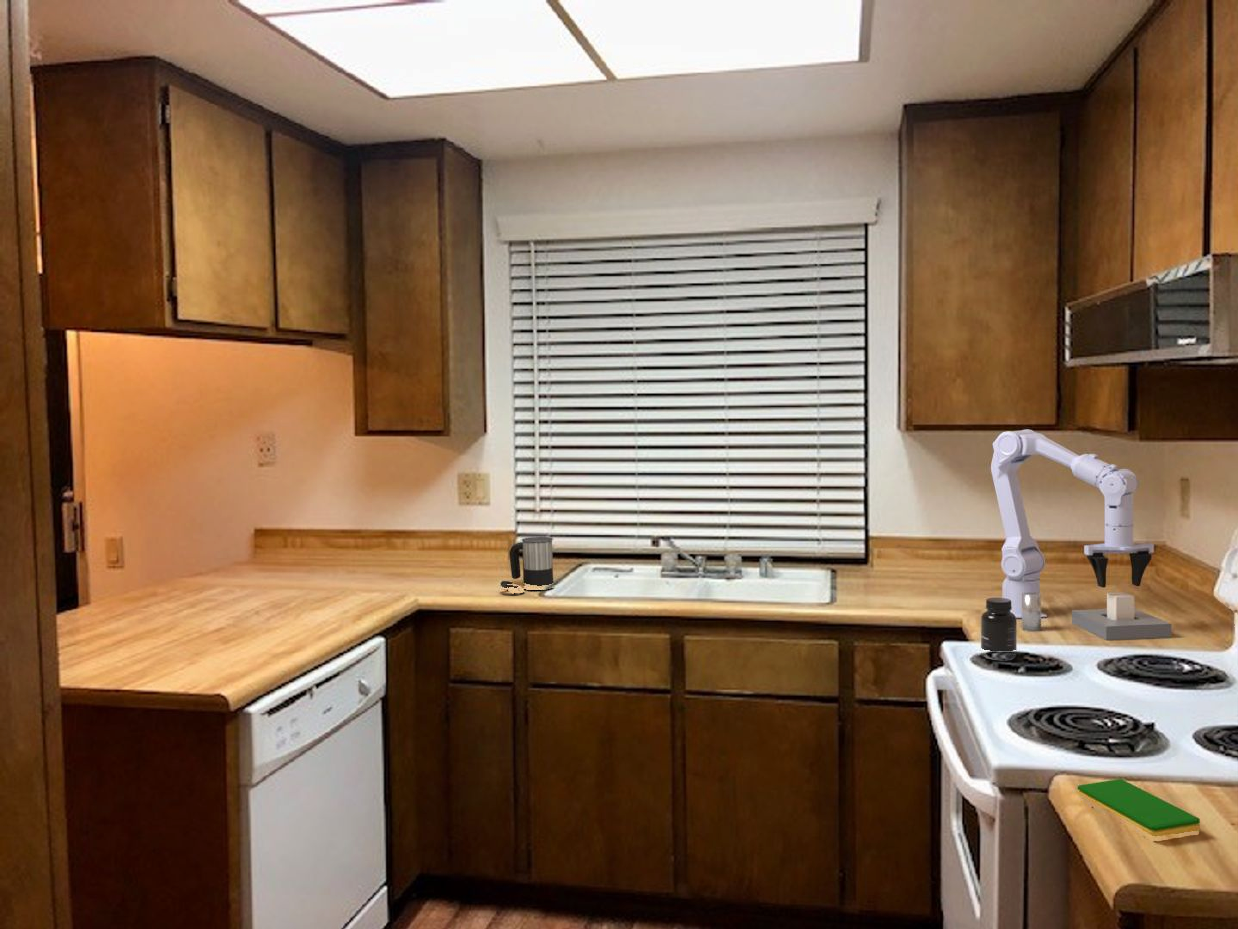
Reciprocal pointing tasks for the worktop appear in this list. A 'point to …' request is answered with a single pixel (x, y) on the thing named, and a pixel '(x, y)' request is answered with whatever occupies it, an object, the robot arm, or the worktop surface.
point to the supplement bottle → (998, 626)
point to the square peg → (1120, 606)
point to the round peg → (1031, 611)
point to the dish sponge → (1140, 807)
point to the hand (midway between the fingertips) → (1118, 586)
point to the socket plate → (1121, 625)
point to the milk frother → (532, 561)
